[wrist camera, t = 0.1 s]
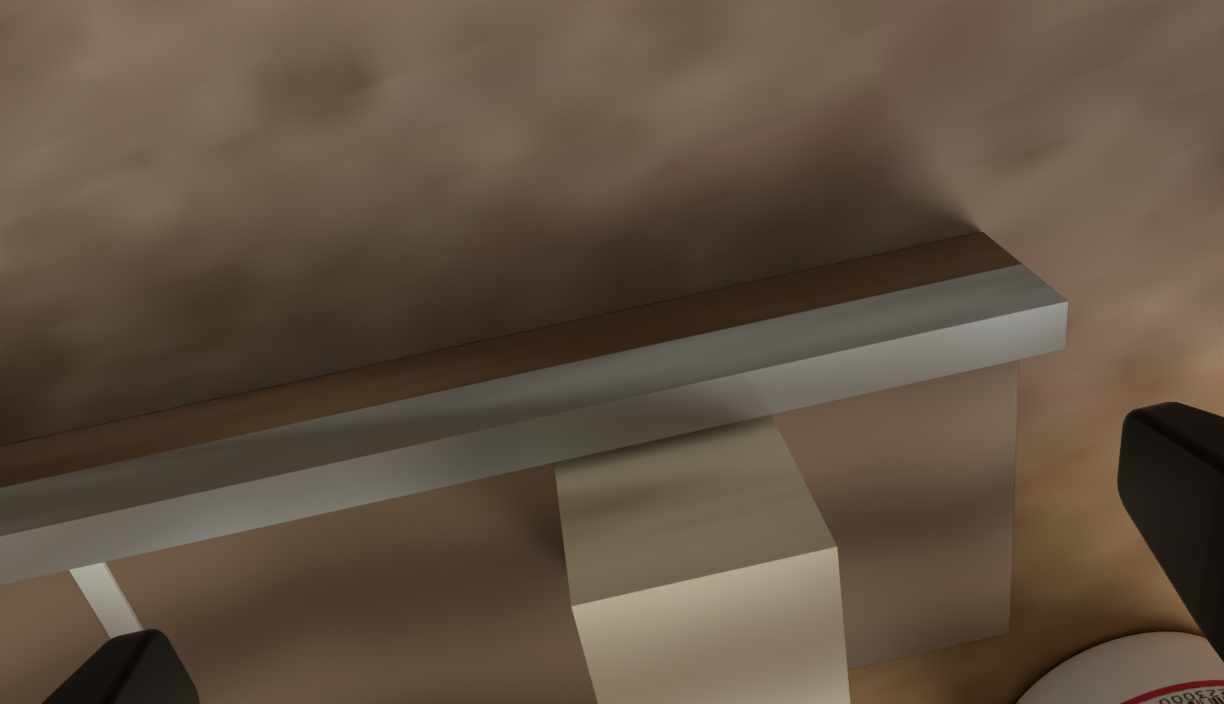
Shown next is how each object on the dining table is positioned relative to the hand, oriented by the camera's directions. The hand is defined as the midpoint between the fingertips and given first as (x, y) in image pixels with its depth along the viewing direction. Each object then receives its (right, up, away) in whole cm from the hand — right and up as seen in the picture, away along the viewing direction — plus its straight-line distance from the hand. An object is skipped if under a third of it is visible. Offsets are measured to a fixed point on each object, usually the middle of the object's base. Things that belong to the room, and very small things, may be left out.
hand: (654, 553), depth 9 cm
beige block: (+1, -2, +16) cm, 16 cm away
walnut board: (-4, -3, +18) cm, 19 cm away
